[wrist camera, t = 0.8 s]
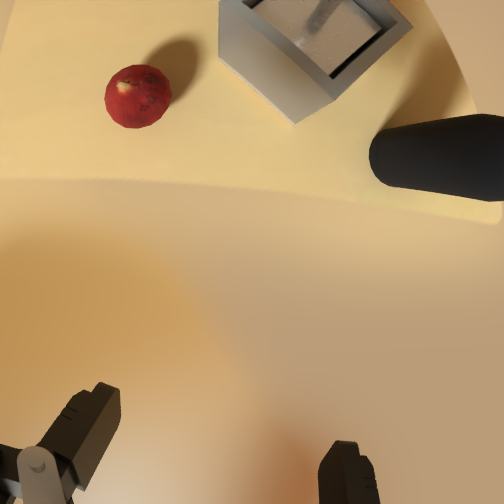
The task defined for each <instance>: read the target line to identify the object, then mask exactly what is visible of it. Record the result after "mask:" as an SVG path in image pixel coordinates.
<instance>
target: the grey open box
mask: <svg viewBox="0 0 504 504" xmlns="http://www.w3.org/2000/svg"><path fill="white" fill-rule="evenodd" d="M262 1H264V0H221V1H220V2H219V26H218V60H219V61H221V62H222V63H223V64H224V65H225V66H227V67H228V68H229V69H230V70H231V71H233V72H234V73H235V74H236V75H237V76H238V77H240V78H241V79H242V80H243V81H244V82H245V83H247V84H248V85H249V86H250V87H251V88H252V89H253V90H255V91H256V92H257V93H258V94H259V95H260V96H261V97H262V98H264V99H265V100H266V101H267V102H268V103H269V104H270V105H271V106H272V107H273V108H274V109H276V110H277V111H278V112H279V113H280V114H281V115H282V116H283V117H284V118H285V119H286V120H287V121H288V122H289V123H290V124H291V125H292V126H293V125H295V124H296V123H298V122H300V121H301V120H303V119H304V118H306V117H308V116H309V115H311V114H313V113H314V112H316V111H318V110H320V109H321V108H323V107H325V106H326V105H328V104H330V103H332V102H333V101H335V100H336V99H337V98H338V97H339V96H340V95H341V94H342V93H343V92H344V91H345V90H346V89H347V88H348V87H349V86H350V85H351V84H352V83H353V82H354V81H356V80H357V79H358V78H359V77H360V76H361V75H362V74H363V73H364V72H365V71H366V70H367V69H368V68H369V67H370V66H371V65H372V64H374V63H375V62H376V61H377V60H378V59H379V58H380V57H381V56H382V55H383V54H384V53H385V52H386V51H388V50H389V49H390V48H391V47H392V46H393V45H394V44H395V43H396V42H397V41H399V40H400V39H401V38H402V37H403V36H404V35H405V34H406V33H407V32H409V31H410V30H411V29H412V28H413V26H412V25H411V23H410V22H409V21H408V20H407V19H406V18H405V17H404V16H403V15H402V14H401V13H400V12H399V11H398V10H397V9H396V8H395V7H394V6H393V5H392V4H391V3H390V2H389V1H388V0H353V1H354V2H355V3H356V4H357V5H358V6H360V7H361V8H362V9H363V10H364V11H365V12H366V13H367V14H368V15H369V16H370V17H371V18H372V19H373V20H374V21H375V22H376V23H377V24H378V25H379V26H380V27H381V28H382V29H380V30H379V31H378V32H377V33H376V34H374V35H373V36H372V37H371V38H370V39H369V40H367V41H366V42H365V43H364V44H363V45H362V46H361V47H359V48H358V49H357V50H356V51H355V52H354V53H353V54H351V55H350V56H349V57H348V58H347V59H346V60H345V61H344V62H342V63H341V64H340V65H339V66H338V67H337V68H336V69H335V70H334V71H333V72H331V73H330V74H329V75H327V74H326V73H325V72H324V71H323V70H322V69H321V68H320V67H319V66H318V65H317V64H316V63H315V62H314V61H313V60H311V59H310V58H309V57H308V56H307V55H306V54H305V53H304V52H303V51H302V50H300V49H299V48H298V47H297V46H296V45H295V44H294V43H292V42H291V41H290V40H289V39H288V38H287V37H285V36H284V35H283V34H282V33H281V32H279V31H278V30H277V29H276V28H275V27H273V26H272V25H271V24H270V23H268V22H267V21H266V20H265V19H263V18H262V17H261V16H259V15H258V14H257V13H255V12H254V11H253V10H251V9H253V8H254V7H255V6H257V5H258V4H259V3H261V2H262Z"/></svg>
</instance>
